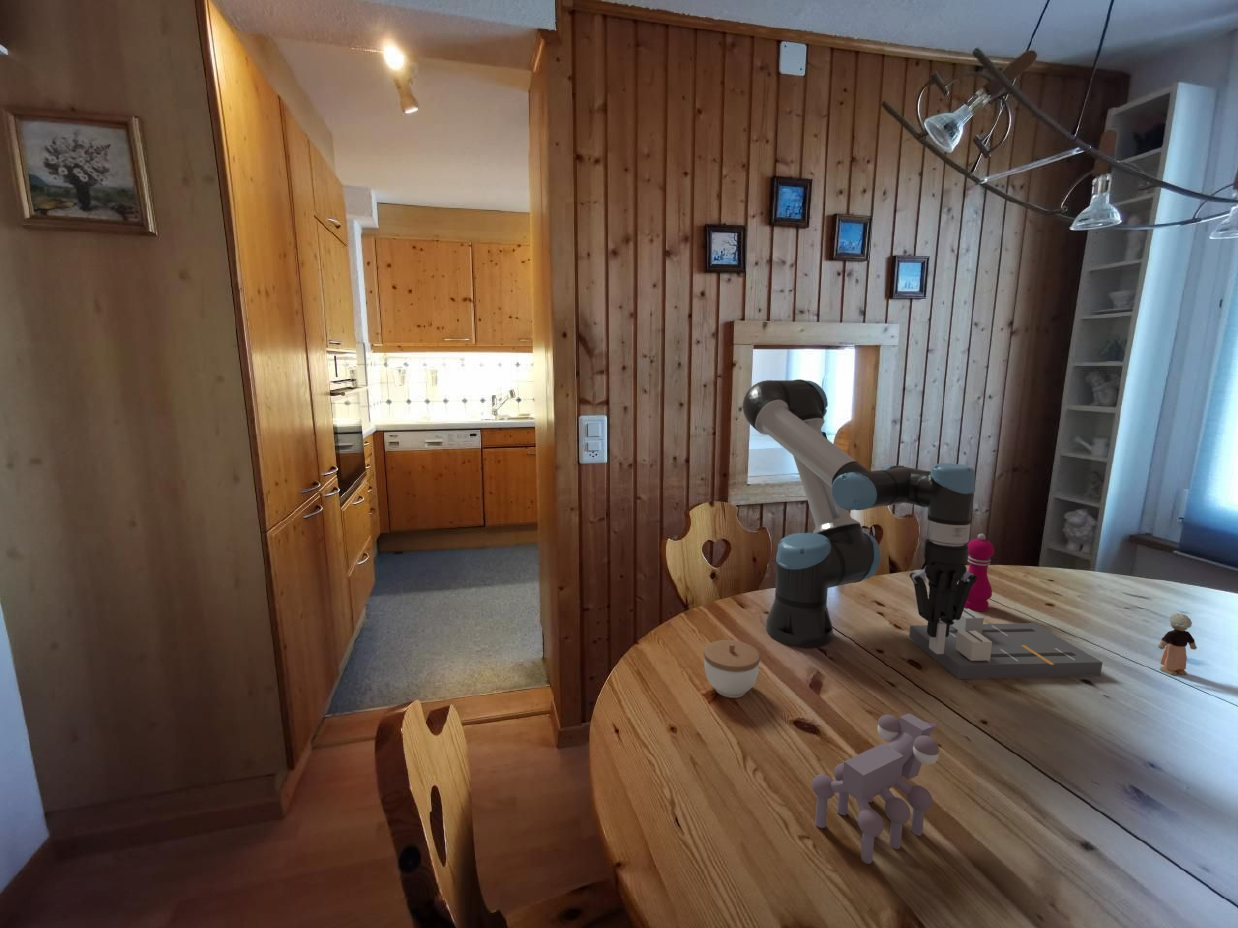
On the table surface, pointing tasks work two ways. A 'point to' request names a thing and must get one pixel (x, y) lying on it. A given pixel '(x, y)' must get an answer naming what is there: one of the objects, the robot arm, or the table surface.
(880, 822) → the toy sheep
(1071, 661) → the console
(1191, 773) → the table surface
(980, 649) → the fader front
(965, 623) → the fader rear
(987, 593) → the pepper mill
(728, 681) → the lidded jar
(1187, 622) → the grandmother figurine
